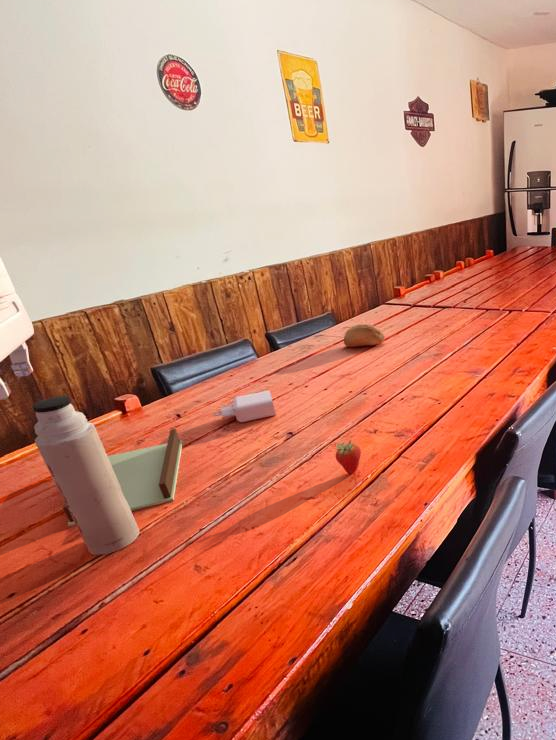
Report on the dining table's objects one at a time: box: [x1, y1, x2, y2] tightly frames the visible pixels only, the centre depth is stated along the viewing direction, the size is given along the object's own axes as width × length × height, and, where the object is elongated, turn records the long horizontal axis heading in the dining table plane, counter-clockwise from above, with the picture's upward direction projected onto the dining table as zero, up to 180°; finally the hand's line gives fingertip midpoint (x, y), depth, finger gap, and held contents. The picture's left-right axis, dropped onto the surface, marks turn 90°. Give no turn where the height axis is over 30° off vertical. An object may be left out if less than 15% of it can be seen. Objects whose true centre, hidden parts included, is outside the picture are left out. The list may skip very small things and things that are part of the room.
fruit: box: [334, 439, 362, 475], centre depth 109 cm, size 5×5×8 cm
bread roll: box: [343, 323, 385, 348], centre depth 189 cm, size 10×15×8 cm, turn 98°
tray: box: [62, 428, 183, 527], centre depth 111 cm, size 18×28×4 cm, turn 24°
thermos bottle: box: [31, 395, 140, 556], centre depth 87 cm, size 8×8×28 cm
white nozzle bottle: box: [212, 390, 277, 423], centre depth 138 cm, size 5×9×15 cm
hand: (14, 385), depth 71 cm, fingers open, 8 cm apart
